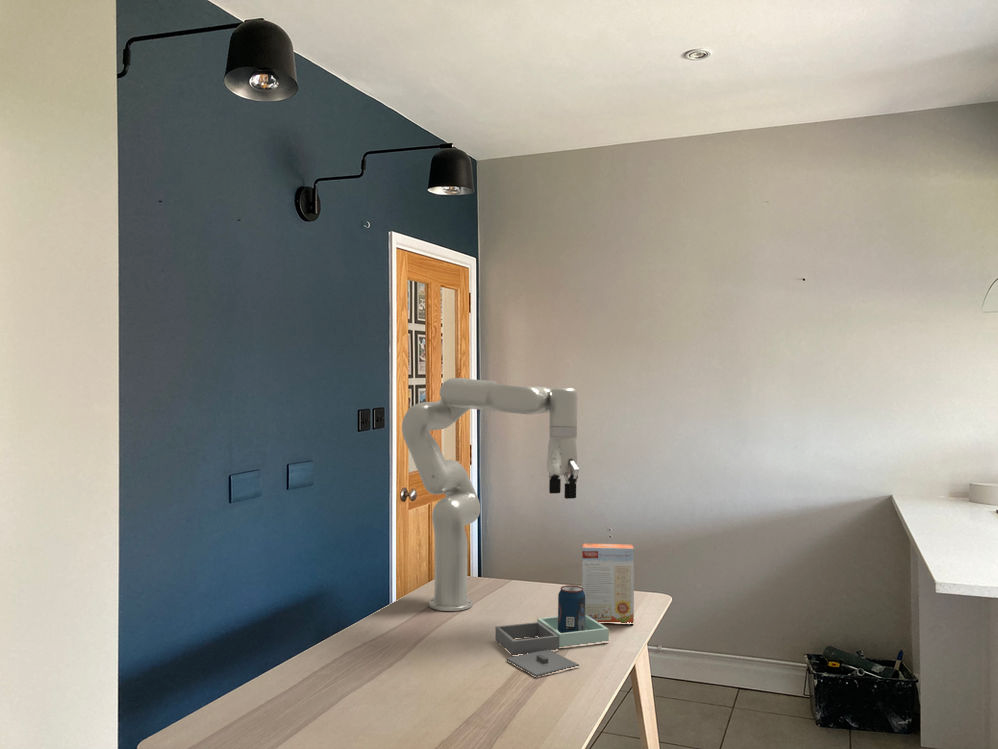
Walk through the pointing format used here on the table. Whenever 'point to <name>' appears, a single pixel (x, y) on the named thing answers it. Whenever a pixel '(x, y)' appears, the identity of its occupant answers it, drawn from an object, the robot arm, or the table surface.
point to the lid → (542, 662)
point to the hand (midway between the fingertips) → (562, 495)
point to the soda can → (571, 609)
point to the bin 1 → (524, 646)
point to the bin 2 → (578, 632)
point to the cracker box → (608, 582)
